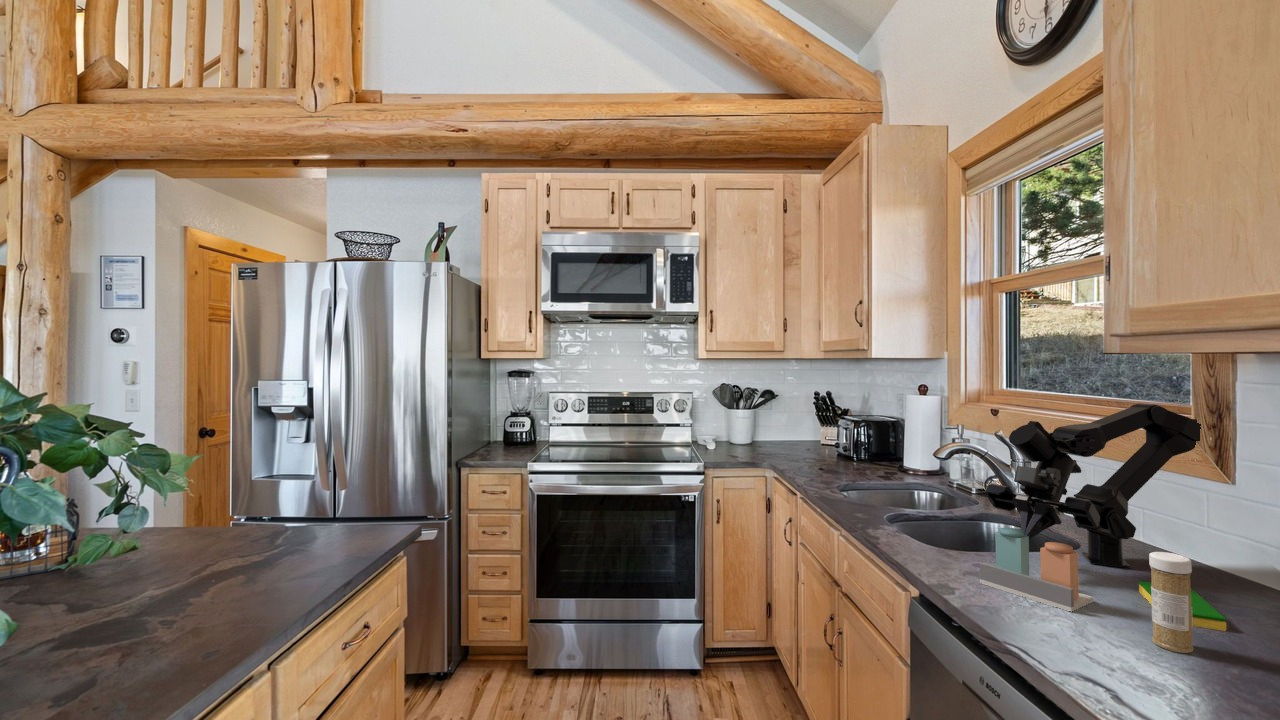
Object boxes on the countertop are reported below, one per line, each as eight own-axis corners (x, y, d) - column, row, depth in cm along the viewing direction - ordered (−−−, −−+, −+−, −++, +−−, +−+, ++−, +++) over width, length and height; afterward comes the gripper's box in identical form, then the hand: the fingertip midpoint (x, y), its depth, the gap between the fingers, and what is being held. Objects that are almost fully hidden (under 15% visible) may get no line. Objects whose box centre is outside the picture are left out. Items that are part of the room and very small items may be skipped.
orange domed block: (1050, 588, 101) (1049, 540, 101) (1080, 597, 97) (1078, 547, 97) (1039, 593, 99) (1038, 544, 99) (1069, 602, 95) (1068, 551, 95)
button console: (1002, 574, 111) (1002, 555, 111) (1093, 601, 98) (1092, 580, 98) (979, 583, 107) (979, 563, 107) (1071, 612, 94) (1070, 589, 94)
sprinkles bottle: (1197, 648, 82) (1195, 556, 82) (1188, 657, 79) (1186, 563, 79) (1156, 636, 85) (1154, 548, 86) (1146, 644, 83) (1144, 554, 83)
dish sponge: (1167, 624, 90) (1167, 609, 90) (1138, 593, 102) (1138, 580, 102) (1227, 634, 87) (1227, 618, 87) (1190, 600, 99) (1190, 586, 99)
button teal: (1005, 570, 110) (1004, 526, 110) (1030, 577, 106) (1029, 531, 106) (994, 574, 108) (993, 529, 108) (1020, 582, 104) (1019, 535, 104)
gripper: (988, 446, 120) (960, 503, 114) (1092, 457, 104) (1066, 525, 98) (1007, 478, 124) (981, 535, 118) (1111, 494, 108) (1086, 561, 102)
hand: (1024, 538), depth 109 cm, fingers closed
